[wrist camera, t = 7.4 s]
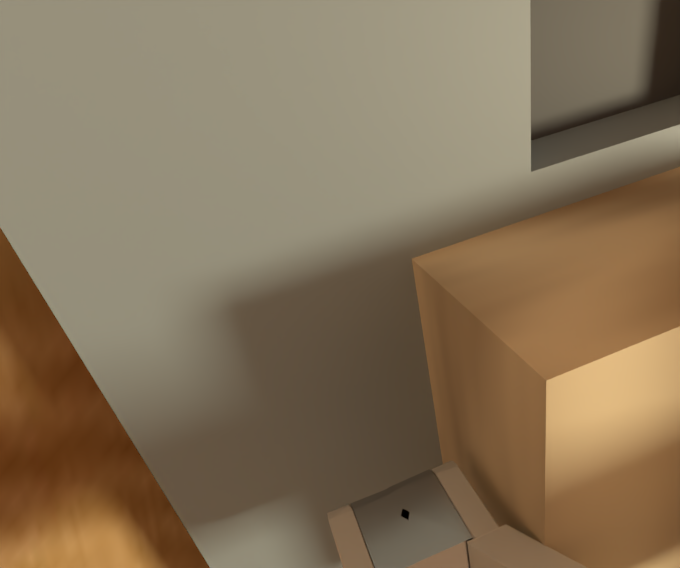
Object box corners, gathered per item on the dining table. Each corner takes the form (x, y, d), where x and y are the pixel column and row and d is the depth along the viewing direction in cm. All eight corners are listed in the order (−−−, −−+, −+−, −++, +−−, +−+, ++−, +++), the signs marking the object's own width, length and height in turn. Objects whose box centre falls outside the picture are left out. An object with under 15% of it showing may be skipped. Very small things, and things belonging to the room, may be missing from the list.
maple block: (771, 135, 11) (1048, 175, 7) (703, 415, 15) (856, 522, 12) (411, 258, 9) (546, 380, 6) (452, 527, 14) (542, 686, 10)
